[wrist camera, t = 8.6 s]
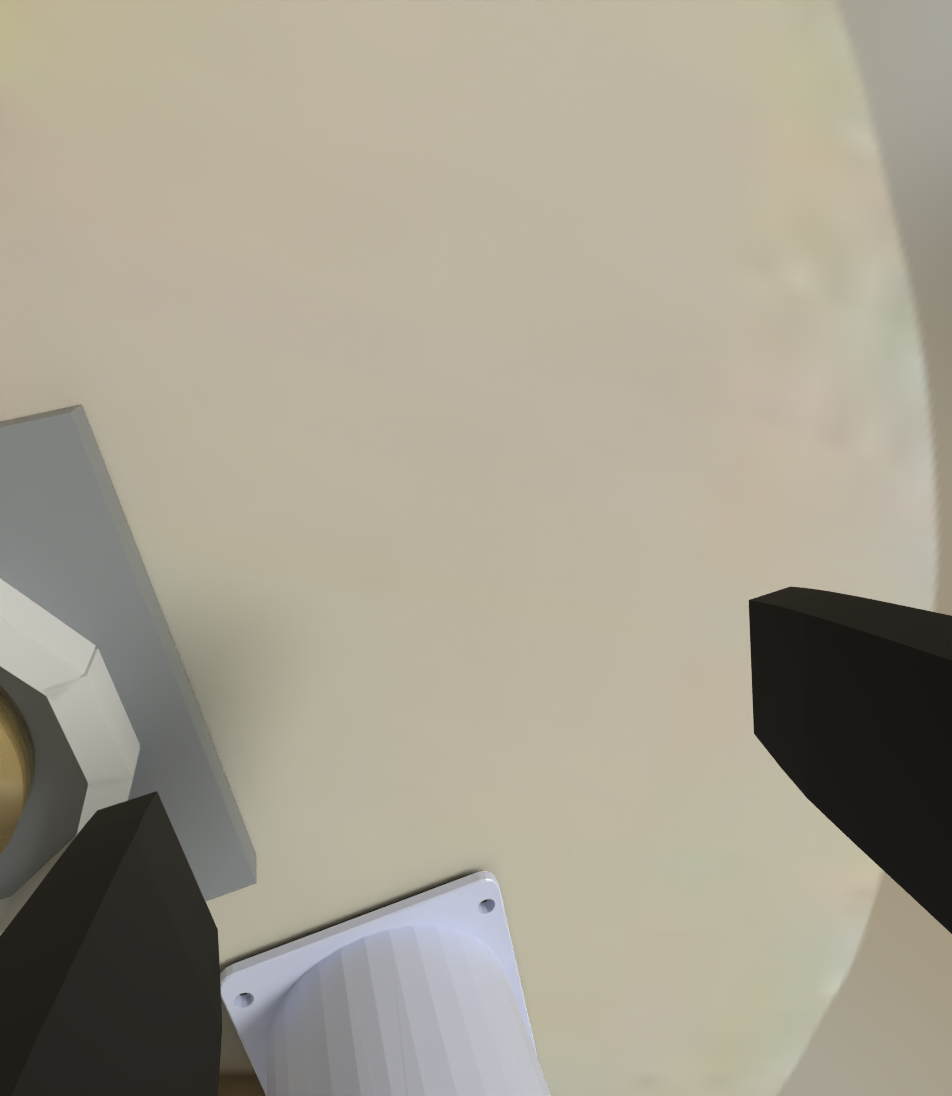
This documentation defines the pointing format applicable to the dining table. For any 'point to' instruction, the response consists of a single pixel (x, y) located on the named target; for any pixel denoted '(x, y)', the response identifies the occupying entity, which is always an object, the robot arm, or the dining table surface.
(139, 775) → the carrier plate
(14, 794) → the brass cabinet knob
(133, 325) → the dining table surface
